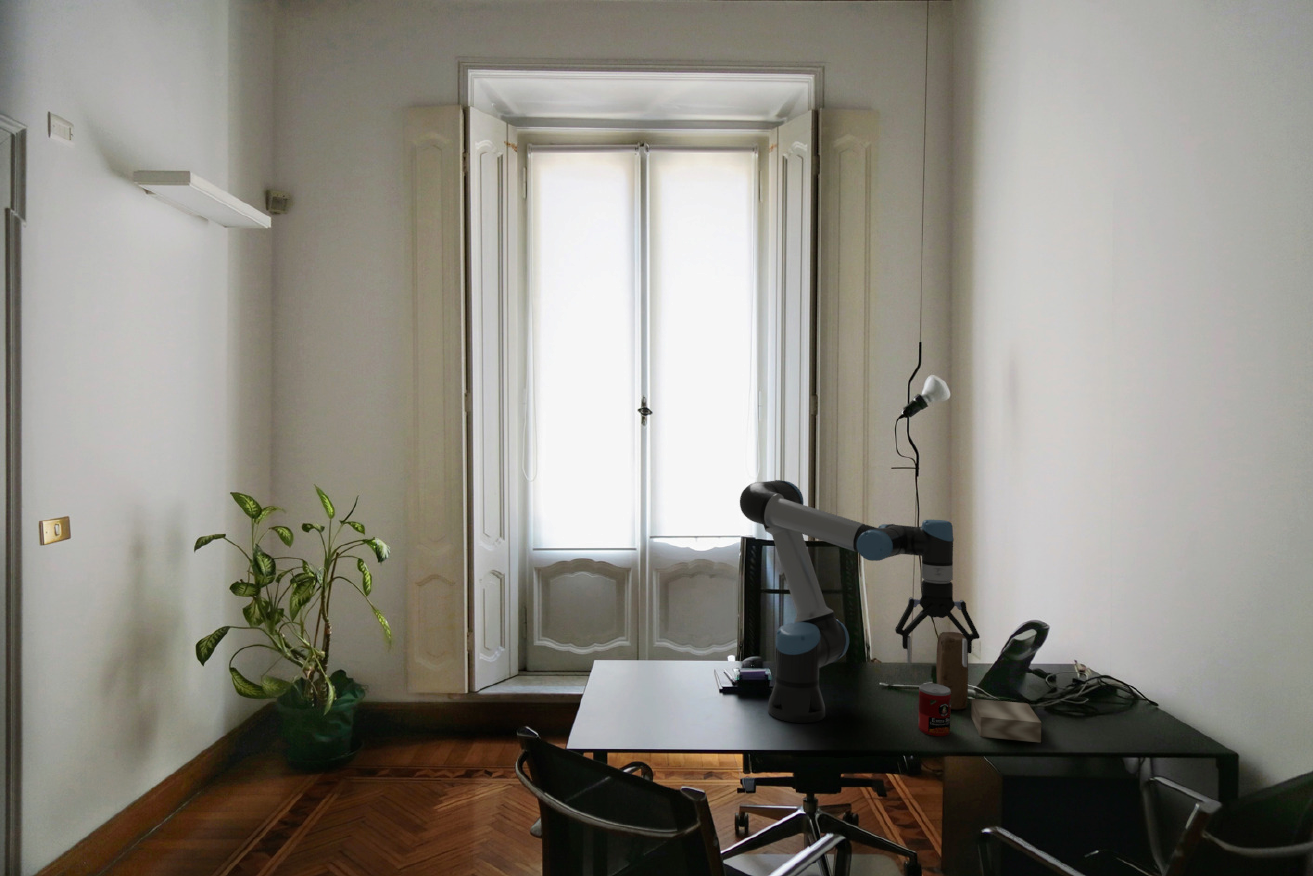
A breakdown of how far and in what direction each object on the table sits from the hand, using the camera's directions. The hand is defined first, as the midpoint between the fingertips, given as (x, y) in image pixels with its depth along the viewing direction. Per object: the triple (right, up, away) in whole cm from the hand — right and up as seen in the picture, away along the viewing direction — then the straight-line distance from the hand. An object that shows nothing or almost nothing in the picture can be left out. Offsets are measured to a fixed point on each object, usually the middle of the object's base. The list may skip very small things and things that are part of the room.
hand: (936, 663), depth 199 cm
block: (+11, -18, +20) cm, 29 cm away
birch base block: (+18, -18, +2) cm, 26 cm away
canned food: (0, -18, 0) cm, 18 cm away
